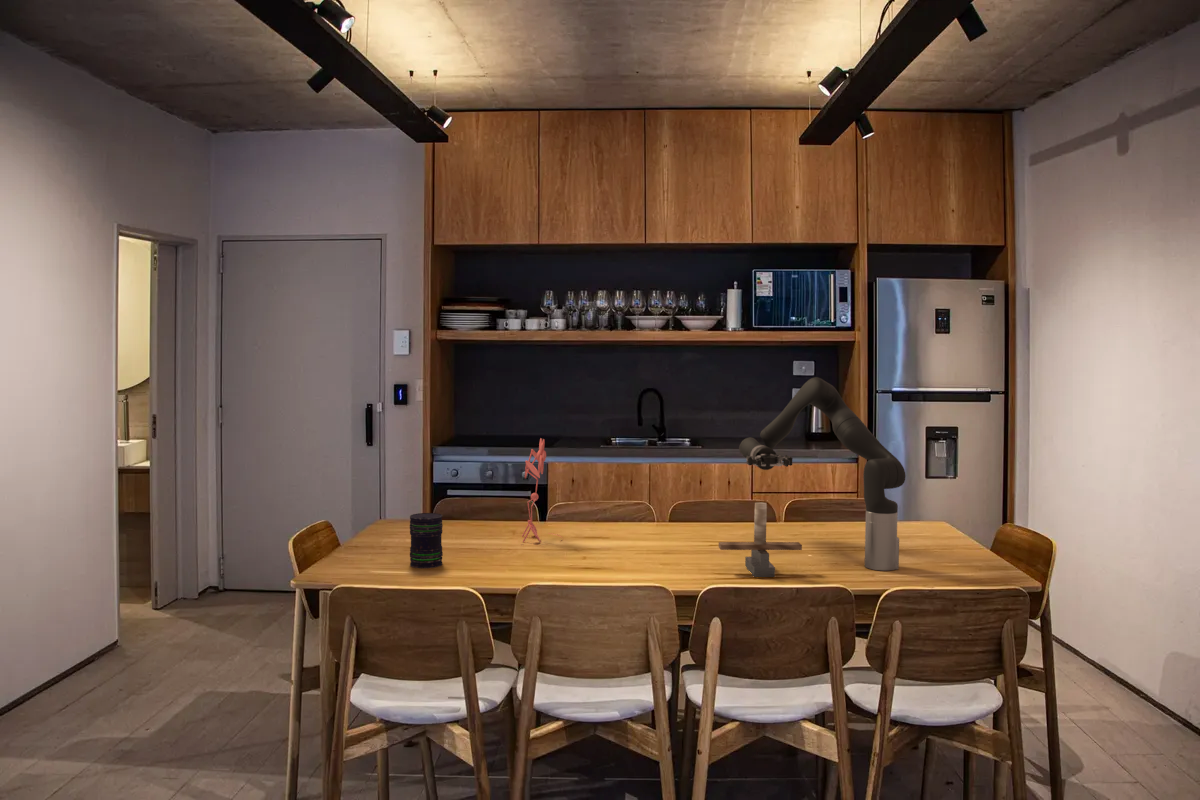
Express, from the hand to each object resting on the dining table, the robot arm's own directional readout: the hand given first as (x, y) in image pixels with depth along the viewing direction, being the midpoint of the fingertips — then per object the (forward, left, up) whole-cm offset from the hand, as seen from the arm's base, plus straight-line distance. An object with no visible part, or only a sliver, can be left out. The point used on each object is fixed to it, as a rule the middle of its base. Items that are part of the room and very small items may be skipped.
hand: (773, 463), depth 292 cm
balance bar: (+8, +20, -23) cm, 31 cm away
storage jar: (+108, +10, -30) cm, 113 cm away
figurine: (+74, -27, -30) cm, 84 cm away
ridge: (+8, +20, -30) cm, 37 cm away
